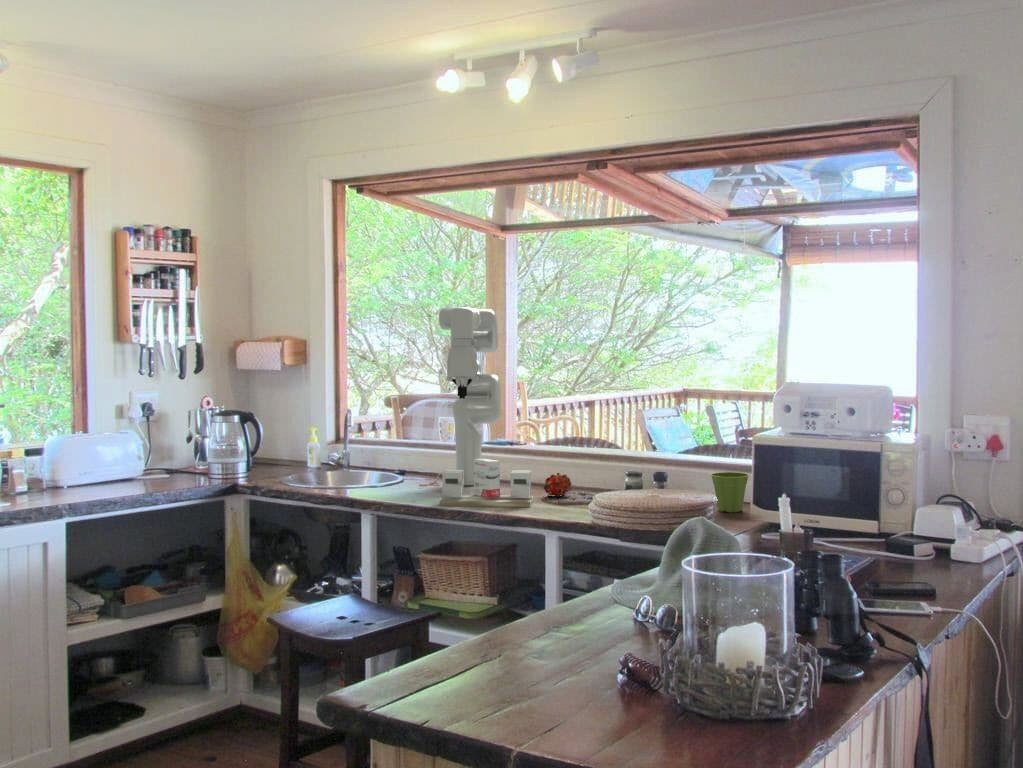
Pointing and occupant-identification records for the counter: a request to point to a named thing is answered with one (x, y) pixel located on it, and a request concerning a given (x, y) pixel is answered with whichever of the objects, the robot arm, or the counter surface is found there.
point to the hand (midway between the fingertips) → (462, 398)
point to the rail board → (456, 497)
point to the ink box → (487, 478)
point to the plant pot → (730, 490)
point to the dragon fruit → (557, 484)
